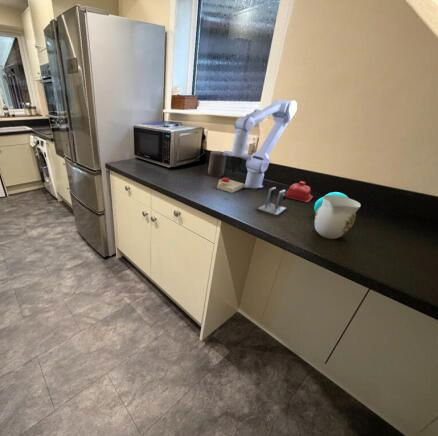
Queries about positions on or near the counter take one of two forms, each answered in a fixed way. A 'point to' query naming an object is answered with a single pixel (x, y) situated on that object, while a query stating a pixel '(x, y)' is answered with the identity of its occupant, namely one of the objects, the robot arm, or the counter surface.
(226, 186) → the button box
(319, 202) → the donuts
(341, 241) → the counter surface
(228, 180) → the button
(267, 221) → the counter surface
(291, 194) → the butter dish
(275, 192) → the lever
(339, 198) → the pitcher
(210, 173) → the pillar candle
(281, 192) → the bracket
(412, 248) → the counter surface
